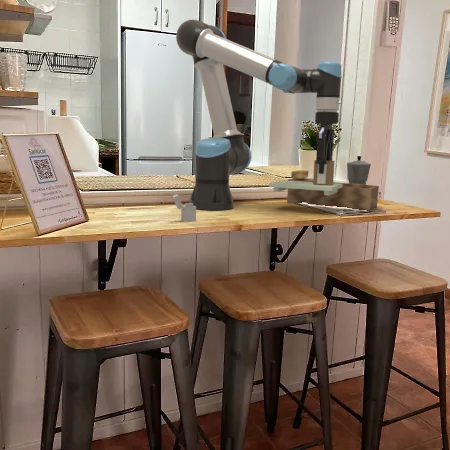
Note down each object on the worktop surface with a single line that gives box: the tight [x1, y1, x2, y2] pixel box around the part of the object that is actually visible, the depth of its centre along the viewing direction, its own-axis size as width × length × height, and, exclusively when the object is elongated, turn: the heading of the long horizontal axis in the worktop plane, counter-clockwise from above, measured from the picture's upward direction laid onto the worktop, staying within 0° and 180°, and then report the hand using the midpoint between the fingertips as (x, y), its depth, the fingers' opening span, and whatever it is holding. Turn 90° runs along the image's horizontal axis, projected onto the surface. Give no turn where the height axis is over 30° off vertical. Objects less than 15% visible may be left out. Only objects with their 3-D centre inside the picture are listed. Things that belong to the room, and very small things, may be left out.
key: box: [290, 169, 309, 179], centre depth 192 cm, size 4×8×2 cm, turn 153°
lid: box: [268, 160, 343, 195], centre depth 172 cm, size 22×14×11 cm, turn 63°
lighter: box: [171, 193, 197, 222], centre depth 148 cm, size 7×2×8 cm, turn 116°
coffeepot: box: [346, 155, 371, 185], centre depth 201 cm, size 15×9×18 cm, turn 149°
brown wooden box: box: [286, 177, 380, 212], centre depth 187 cm, size 31×14×9 cm, turn 63°
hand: (322, 183), depth 170 cm, fingers closed on lid, 3 cm apart
